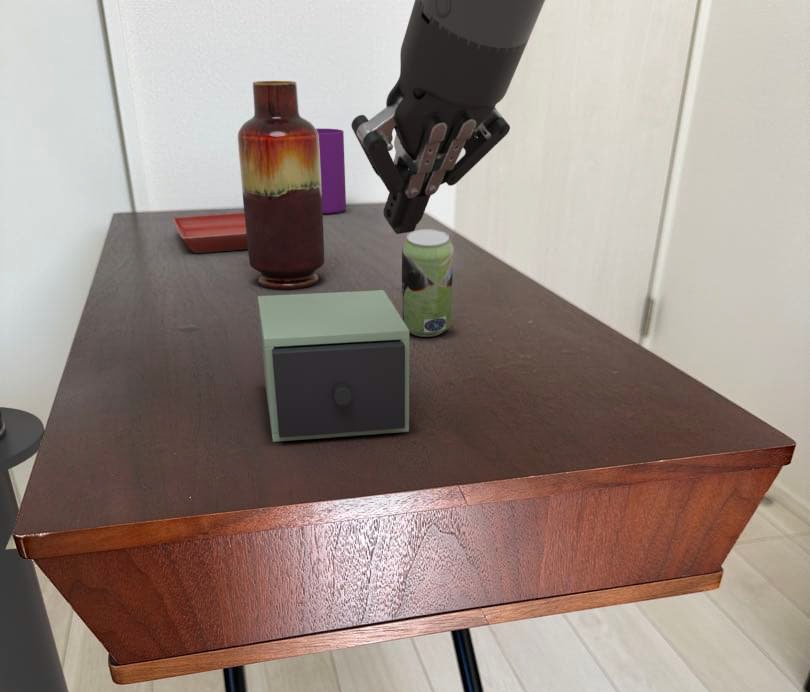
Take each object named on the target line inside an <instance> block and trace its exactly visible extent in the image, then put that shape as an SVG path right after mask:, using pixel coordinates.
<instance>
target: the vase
mask: <svg viewBox="0 0 810 692" xmlns="http://www.w3.org/2000/svg"><path fill="white" fill-rule="evenodd" d="M252 92H253V93H252V95H253V109H254V110H253V111H254V113H253V116H252V117H251V118H249V119H248V120H246V121H245V122H244V123H243V124H242V125H241V126H240V128H239V130H238V133H237V146H238V158H239V169H240V170H239V171H240V182H241V190H242V202H243V213H244V214H245V225H246V235H247V245H248V249H247V254H248V263H249V266H250V267H251V268H252V269H253V270H255V271H257V272H258V273H261V274H260V275H259V276H258V277H257V284H258V285H259V286H260V287H263V288H266V289H272V290H299V289H304V288H310V287H313V286H315V285H316V284H318V283H319V281H320V278H319V276H318V274H317V273H316V271H317V270H318V269H319V268H321V267H322V266H324V264H325V238H324V237H325V236H324V215H323V211H322V189H321V168H320V149H319V135H318V132H317V130H316V129H317V128H316V127H315V126H314V124H313V123H312V122H310V121H309V120H307V119H306V118H304V117H303V116H301V115H300V110H299V97H298V85H297V82H296V81H295V80H293V81H291V80H260V81H259V80H258V81H252Z"/></svg>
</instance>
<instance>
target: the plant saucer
mask: <svg viewBox="0 0 810 692" xmlns="http://www.w3.org/2000/svg"><path fill="white" fill-rule="evenodd" d="M172 221H173V223H174V226H175V227H176V229H177V231H178V233H179V235H180V237H181V239H182V240H183V242H184V243H185V244H186V246H188V248H189V249H190V250H191V251H192V252H193V253H195V254H206V253H207V254H208V253H217V252H218V253H219V252H230V251H243V250H248V245H247V235H246V225H245V214H244V212H233V213H220V214H219V213H217V214H205V215H190V216H178V217H173V218H172Z"/></svg>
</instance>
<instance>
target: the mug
mask: <svg viewBox="0 0 810 692" xmlns="http://www.w3.org/2000/svg"><path fill="white" fill-rule="evenodd" d="M316 130H317V132H318V135H319V149H320V168H321V189H322V211H323V216H324V215H336V214H340V213H343V212H344V211H345V210H346V209H347V198H346V197H347V196H346V195H347V194H346V193H347V192H346V167H345V165H346V162H345V138H344V136H345V135H344V130H343V129H338V128H316Z"/></svg>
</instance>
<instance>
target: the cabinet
mask: <svg viewBox="0 0 810 692" xmlns="http://www.w3.org/2000/svg"><path fill="white" fill-rule="evenodd" d="M257 303H258V316H259V324H260V327H259V328H260V335H261V336H260V338H261V348H262V361H263V372H264V382H265V391H266V399H267V407H268V415H269V423H270V431H271V439H272V442H273V443H277V442H288V441H289V442H290V441H291V442H292V441H300V440H301V441H302V440H303V441H304V440H317V439H329V438H345V437H356V436H357V437H358V436H369V435H384V434H396V433H397V434H398V433H408V432H410V332H409V329H408V328H407V326H406V325H405V323H404V321H403V320H402V316H401V315H400V314H399V312H398V310H397V309H396V307H395V305H394V304H393V302H392V300H391V299H390V297H389V296H388V294H387V293H386V291H385V289H376V290H360V291H359V290H357V291H339V292H338V291H337V292H315V293H297V294H295V293H293V294H277V295H276V294H275V295H258V296H257ZM386 340H392V342H399V341H402V342H403V343H404V345H405V428H400V429H387V430H374V431H360V432H347V433H334V434H320V435H307V436H294V437H279V429H278V417H277V405H276V393H275V381H274V369H273V357H272V349H276V347H283V346H300V345H317V344H335V343H352V342H369V341H386Z"/></svg>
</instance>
